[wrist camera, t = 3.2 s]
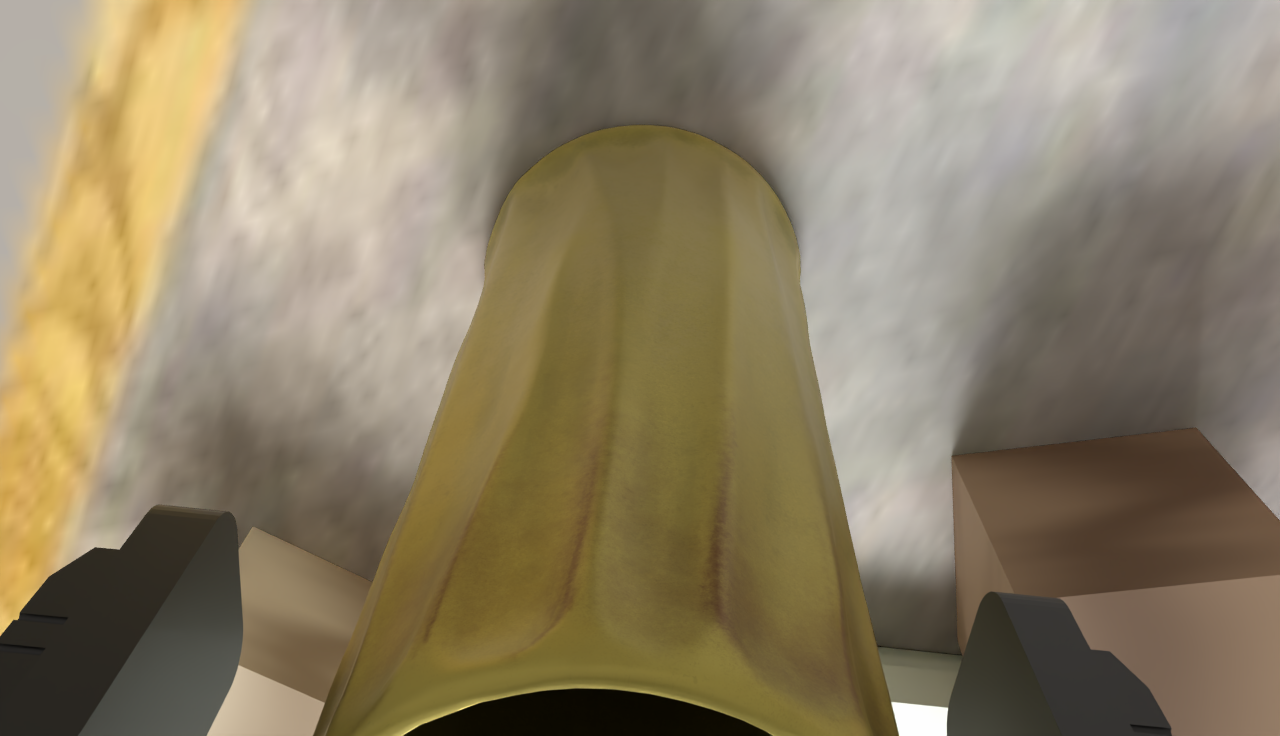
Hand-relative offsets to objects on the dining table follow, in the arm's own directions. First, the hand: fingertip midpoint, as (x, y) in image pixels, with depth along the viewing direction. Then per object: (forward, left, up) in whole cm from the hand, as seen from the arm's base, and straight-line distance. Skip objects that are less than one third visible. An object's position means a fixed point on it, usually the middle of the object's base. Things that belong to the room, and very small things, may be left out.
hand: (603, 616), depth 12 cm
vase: (0, 0, -11) cm, 11 cm away
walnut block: (-10, +5, -11) cm, 16 cm away
